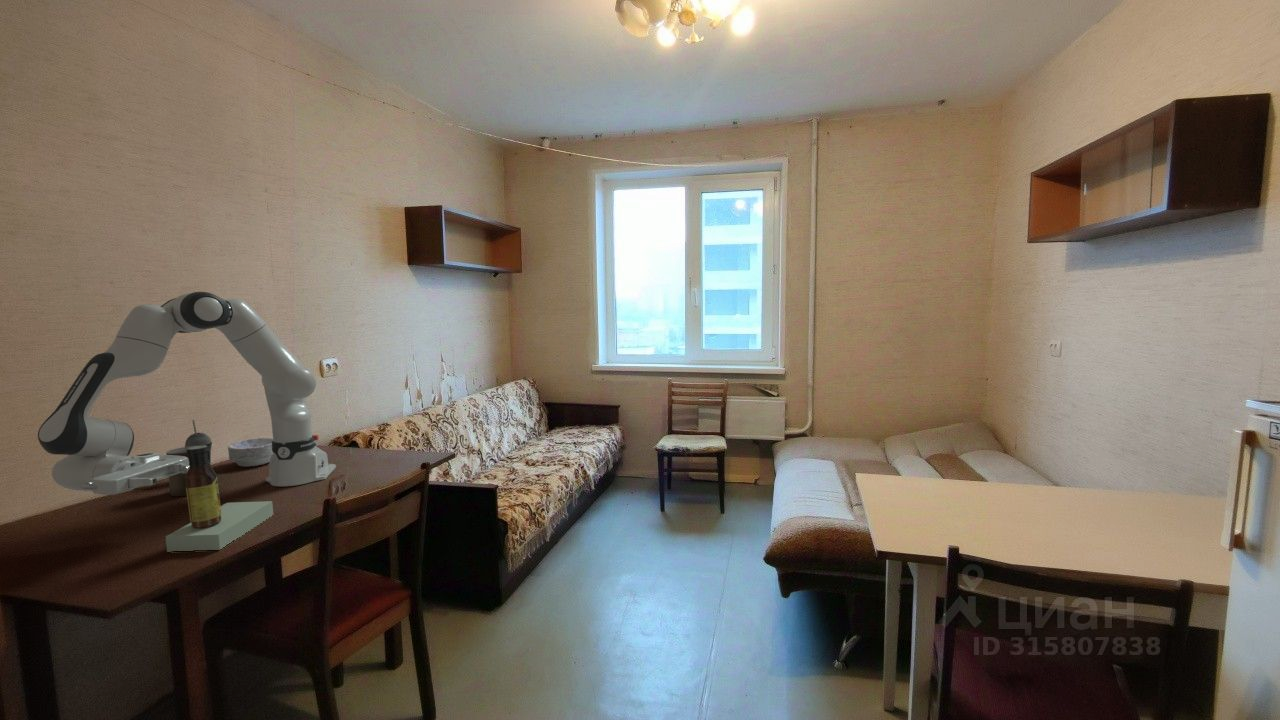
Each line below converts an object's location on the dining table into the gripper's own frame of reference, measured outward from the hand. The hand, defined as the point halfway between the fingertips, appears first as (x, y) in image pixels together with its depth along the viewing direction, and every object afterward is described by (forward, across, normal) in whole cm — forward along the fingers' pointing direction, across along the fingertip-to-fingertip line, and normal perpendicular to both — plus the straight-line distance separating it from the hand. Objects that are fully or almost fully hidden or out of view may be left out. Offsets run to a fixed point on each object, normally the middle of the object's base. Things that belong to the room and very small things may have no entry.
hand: (172, 475), depth 137 cm
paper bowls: (-32, +62, +17) cm, 72 cm away
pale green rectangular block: (+8, +5, +17) cm, 19 cm away
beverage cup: (-37, +45, +17) cm, 61 cm away
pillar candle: (-29, +33, +17) cm, 47 cm away
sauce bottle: (+8, 0, +13) cm, 15 cm away
